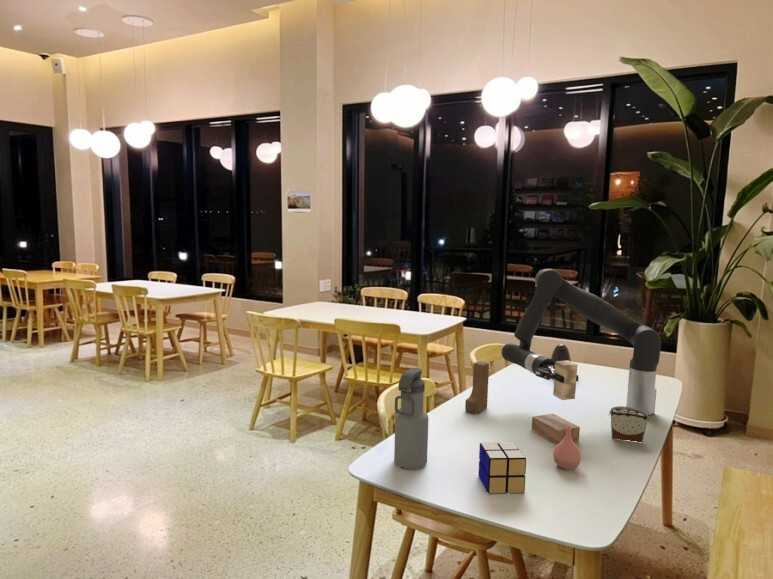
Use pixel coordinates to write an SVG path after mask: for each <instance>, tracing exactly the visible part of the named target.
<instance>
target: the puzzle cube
mask: <svg viewBox="0 0 773 579" xmlns="http://www.w3.org/2000/svg"><path fill="white" fill-rule="evenodd" d="M478 453H479V454H478V456H479V457H478V459H479V461H478V474H477V475H478V476H477V477H478V478H479V479H480V482H481V481H482V482H481V483H482V486H483V487H484V489H485V491H486V493H487V492H488V493H505V494H507V493H510V494H524V493H525V491H526V490H525V489H526V471H527V469H526V468H527V458H526V456H525V455H524V453H523V452H522V451H521V449H520V448H519V447H518V446H517V445H516V443H515V442H513V441H512V442H498V443H497V442H481V443H479V452H478ZM488 493H487V494H488Z"/></svg>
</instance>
